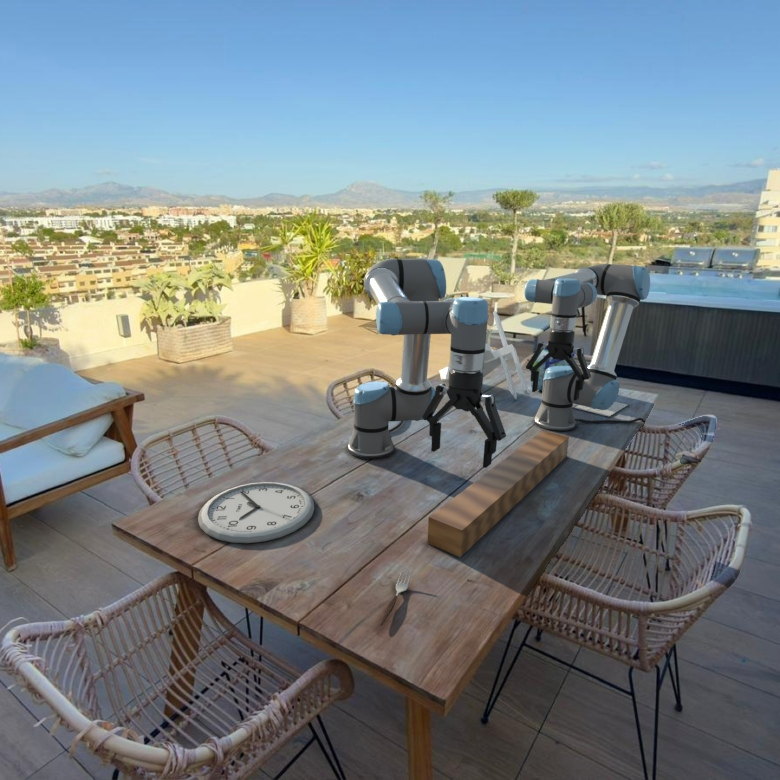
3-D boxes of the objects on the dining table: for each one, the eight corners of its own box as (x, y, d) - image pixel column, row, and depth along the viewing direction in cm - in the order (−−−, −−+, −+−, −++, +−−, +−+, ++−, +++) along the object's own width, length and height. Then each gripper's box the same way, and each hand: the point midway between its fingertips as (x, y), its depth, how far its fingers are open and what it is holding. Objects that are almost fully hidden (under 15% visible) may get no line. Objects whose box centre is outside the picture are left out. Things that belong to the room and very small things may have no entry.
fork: (373, 626, 100) (374, 617, 99) (401, 576, 114) (401, 568, 113) (386, 630, 99) (386, 621, 98) (412, 579, 113) (412, 571, 112)
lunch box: (547, 395, 239) (552, 351, 233) (526, 390, 247) (530, 347, 240) (574, 384, 257) (579, 343, 251) (554, 380, 264) (558, 339, 258)
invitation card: (608, 416, 214) (573, 407, 224) (608, 416, 214) (573, 408, 224) (628, 404, 229) (594, 396, 238) (628, 405, 229) (594, 397, 238)
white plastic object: (461, 429, 252) (437, 405, 227) (444, 352, 274) (420, 323, 250) (535, 404, 240) (518, 377, 215) (510, 326, 262) (492, 293, 237)
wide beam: (540, 449, 181) (542, 430, 179) (566, 456, 176) (569, 436, 174) (427, 543, 126) (428, 517, 124) (460, 557, 121) (462, 530, 119)
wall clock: (310, 535, 126) (182, 539, 123) (311, 541, 126) (183, 545, 124) (317, 477, 154) (212, 480, 152) (317, 482, 155) (213, 485, 152)
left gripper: (409, 363, 119) (407, 448, 126) (512, 384, 105) (503, 479, 111) (427, 356, 125) (424, 438, 131) (526, 376, 111) (517, 466, 117)
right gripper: (519, 326, 166) (513, 390, 172) (600, 337, 151) (590, 406, 158) (528, 323, 171) (522, 385, 178) (607, 333, 157) (598, 399, 164)
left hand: (460, 457), depth 121 cm, fingers open, 13 cm apart
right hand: (554, 395), depth 168 cm, fingers open, 13 cm apart
